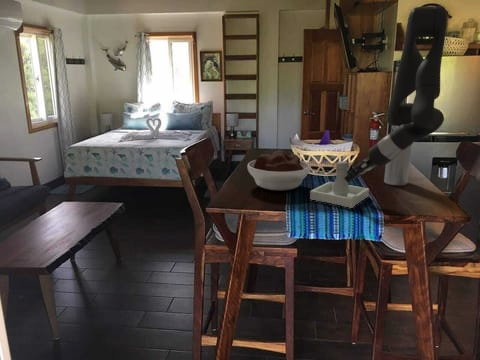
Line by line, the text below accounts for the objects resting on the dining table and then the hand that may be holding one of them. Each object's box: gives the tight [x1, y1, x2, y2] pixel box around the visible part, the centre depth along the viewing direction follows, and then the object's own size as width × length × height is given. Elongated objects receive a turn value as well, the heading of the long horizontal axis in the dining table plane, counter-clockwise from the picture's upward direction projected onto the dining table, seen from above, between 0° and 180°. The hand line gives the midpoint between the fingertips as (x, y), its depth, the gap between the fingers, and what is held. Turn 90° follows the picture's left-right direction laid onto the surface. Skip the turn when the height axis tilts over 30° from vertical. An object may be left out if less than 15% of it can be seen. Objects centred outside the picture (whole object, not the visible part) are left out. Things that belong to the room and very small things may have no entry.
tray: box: [309, 181, 370, 209], centre depth 149 cm, size 16×16×4 cm
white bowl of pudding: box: [246, 149, 311, 191], centre depth 162 cm, size 25×25×15 cm
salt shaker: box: [333, 160, 350, 197], centre depth 147 cm, size 6×6×13 cm
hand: (350, 177), depth 145 cm, fingers open, 8 cm apart
